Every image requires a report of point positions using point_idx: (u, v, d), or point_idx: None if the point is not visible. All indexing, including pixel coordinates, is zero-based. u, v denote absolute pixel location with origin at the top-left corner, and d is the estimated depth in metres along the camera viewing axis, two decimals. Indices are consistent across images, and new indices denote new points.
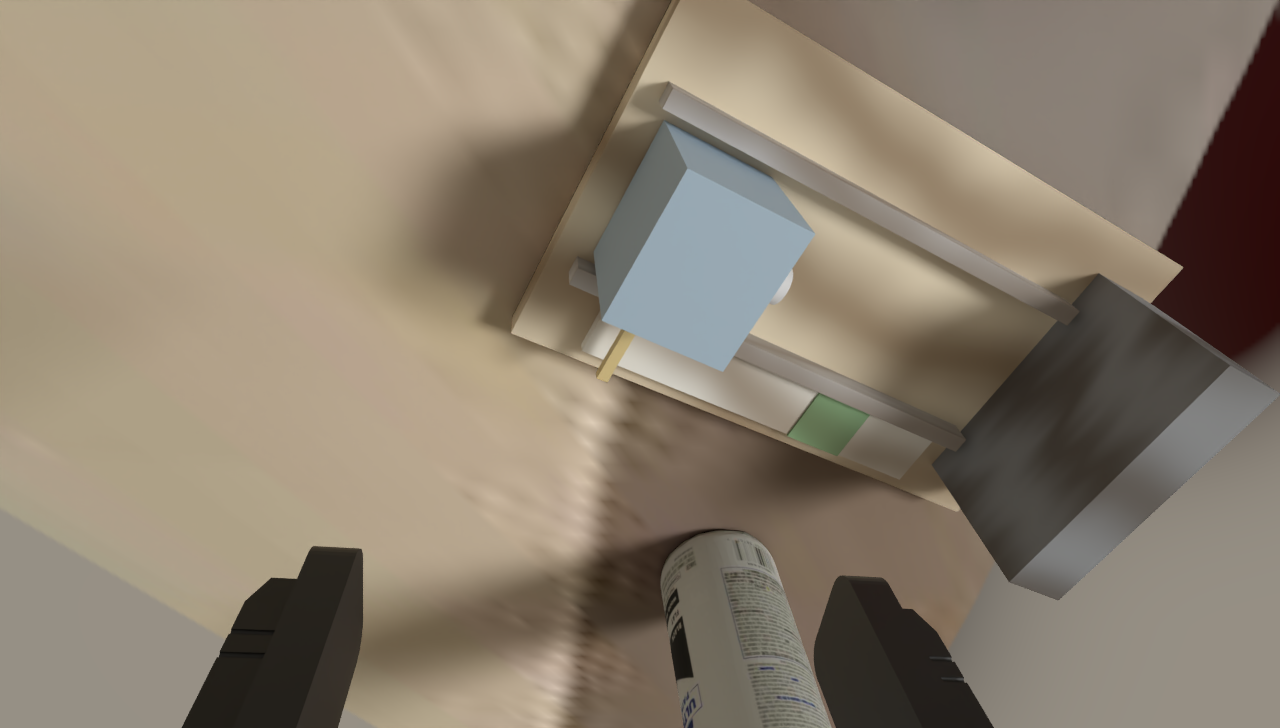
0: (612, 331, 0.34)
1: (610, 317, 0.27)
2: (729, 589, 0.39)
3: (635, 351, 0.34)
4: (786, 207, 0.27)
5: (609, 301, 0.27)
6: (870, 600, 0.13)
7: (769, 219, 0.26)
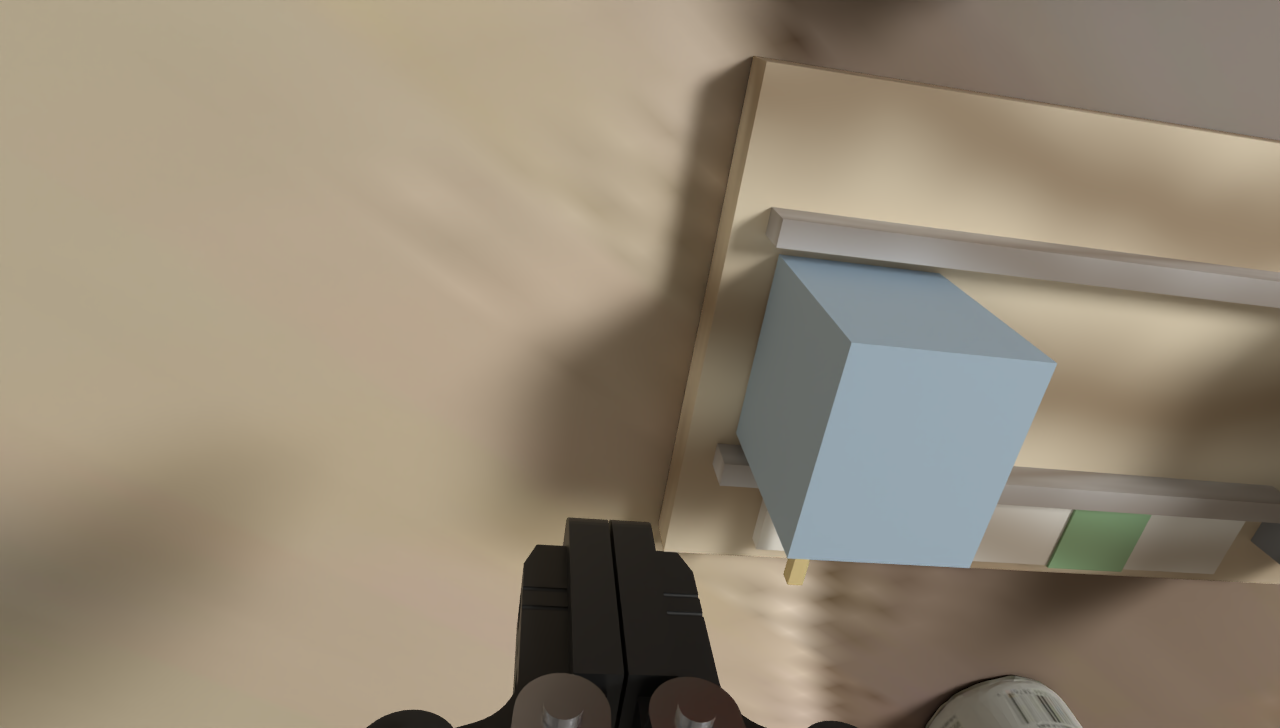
0: None
1: (798, 551, 0.19)
2: None
3: None
4: (992, 328, 0.19)
5: (790, 529, 0.20)
6: (625, 541, 0.13)
7: (986, 366, 0.18)
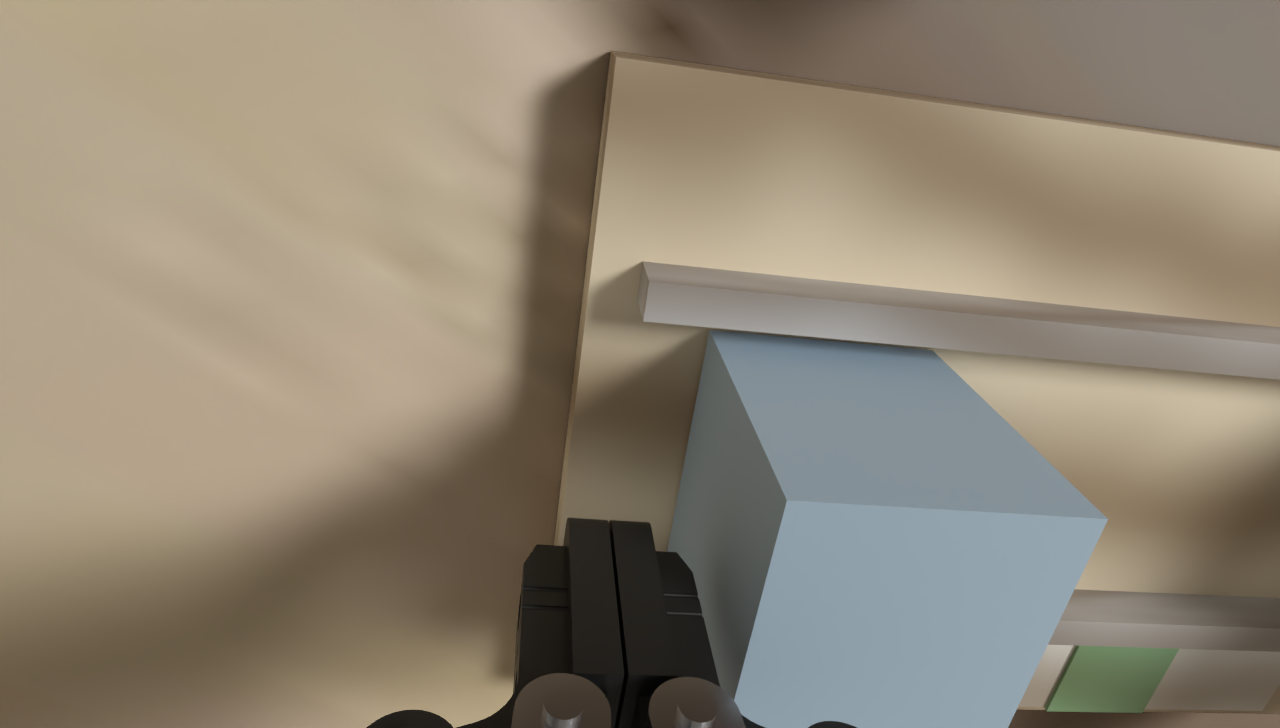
0: None
1: None
2: None
3: None
4: (1006, 451, 0.13)
5: None
6: (625, 541, 0.13)
7: (999, 526, 0.11)
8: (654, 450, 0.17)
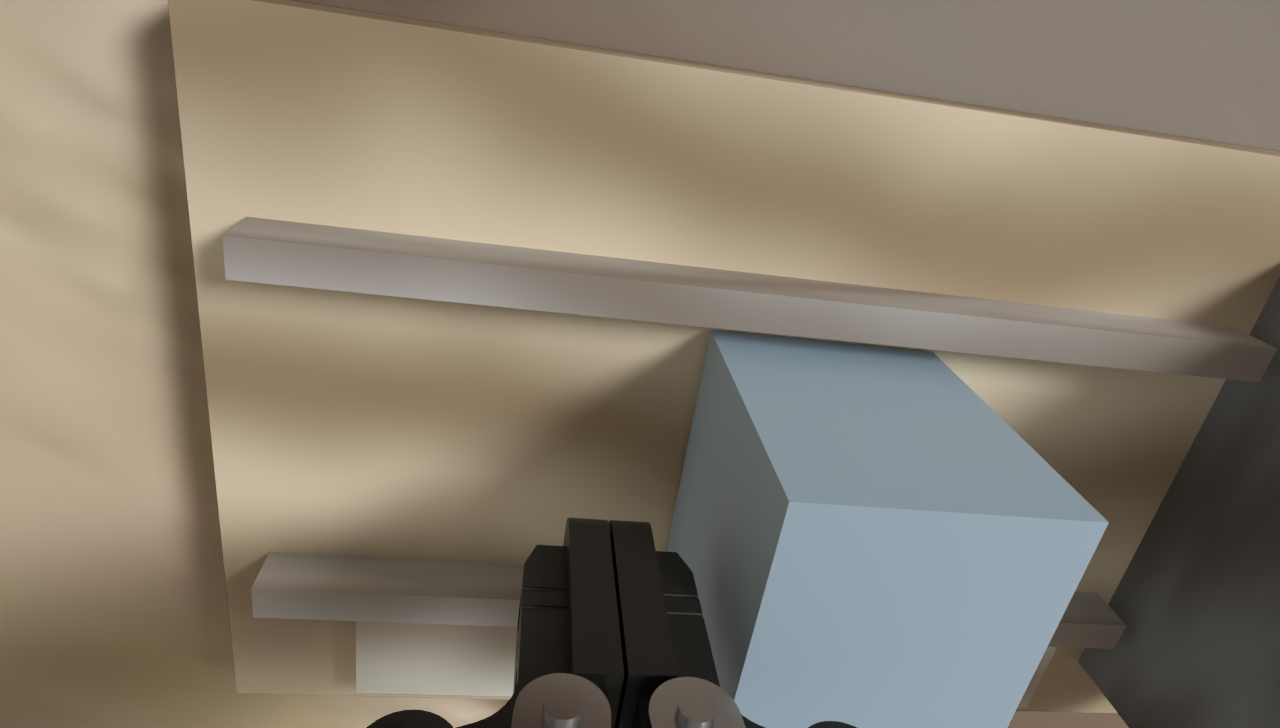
0: (389, 650, 0.18)
1: None
2: None
3: (448, 665, 0.19)
4: (1007, 454, 0.13)
5: None
6: (626, 541, 0.13)
7: (1000, 529, 0.11)
8: (305, 424, 0.16)
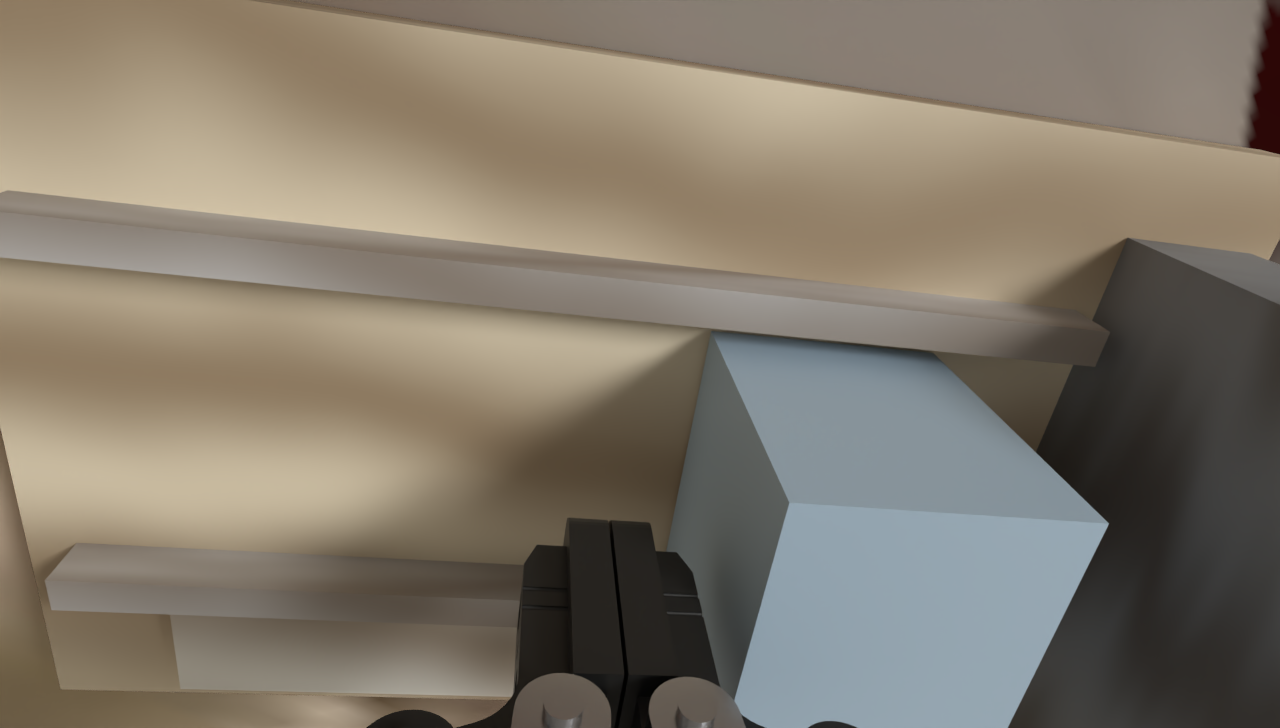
0: (210, 645, 0.18)
1: None
2: None
3: (275, 661, 0.18)
4: (1008, 455, 0.13)
5: None
6: (626, 541, 0.13)
7: (1000, 531, 0.11)
8: (98, 410, 0.16)
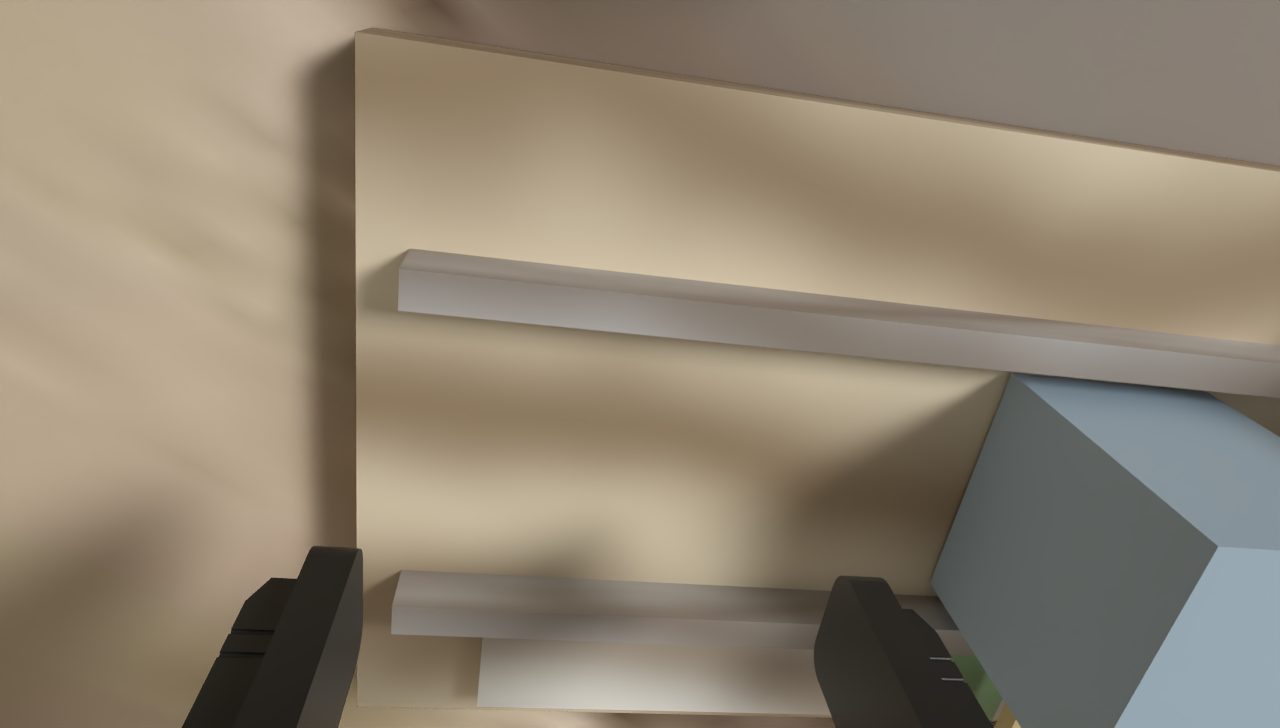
0: (512, 665, 0.19)
1: None
2: None
3: (567, 680, 0.19)
4: None
5: None
6: (870, 600, 0.13)
7: None
8: (446, 447, 0.17)
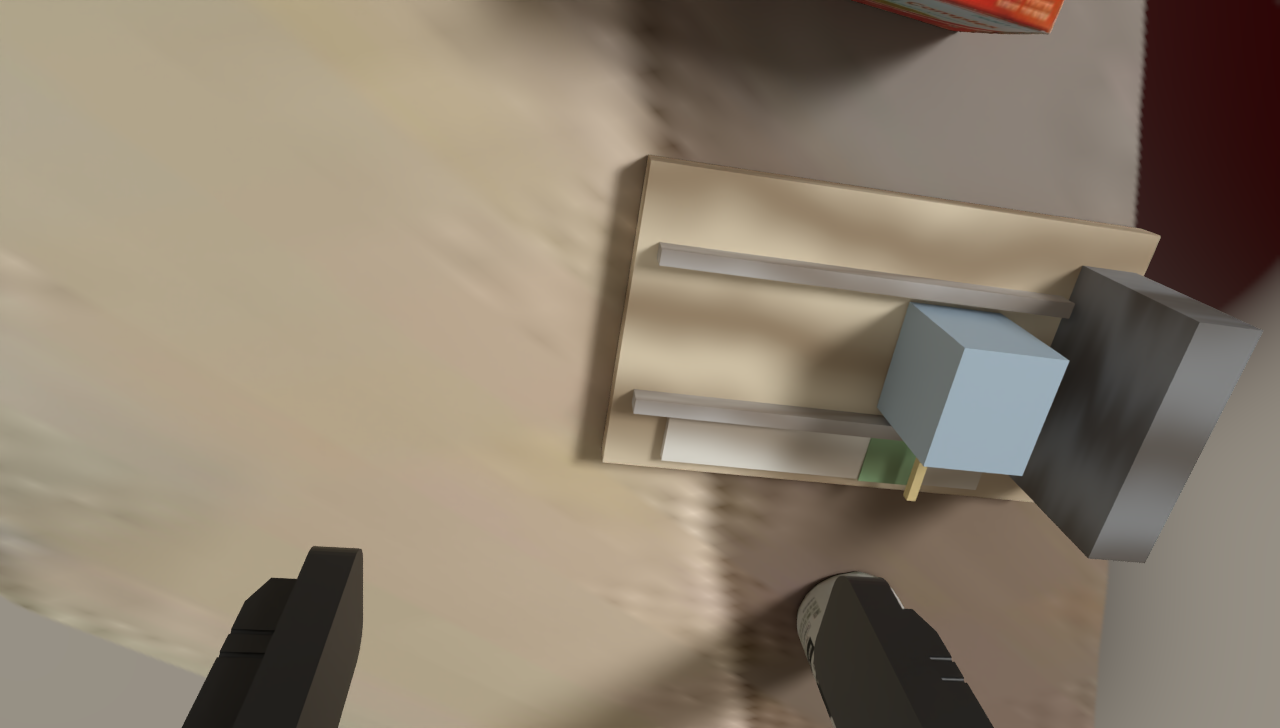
0: (680, 438, 0.41)
1: (929, 462, 0.36)
2: None
3: (704, 448, 0.41)
4: (1034, 343, 0.36)
5: (924, 450, 0.36)
6: (870, 600, 0.13)
7: (1032, 361, 0.34)
8: (662, 329, 0.39)
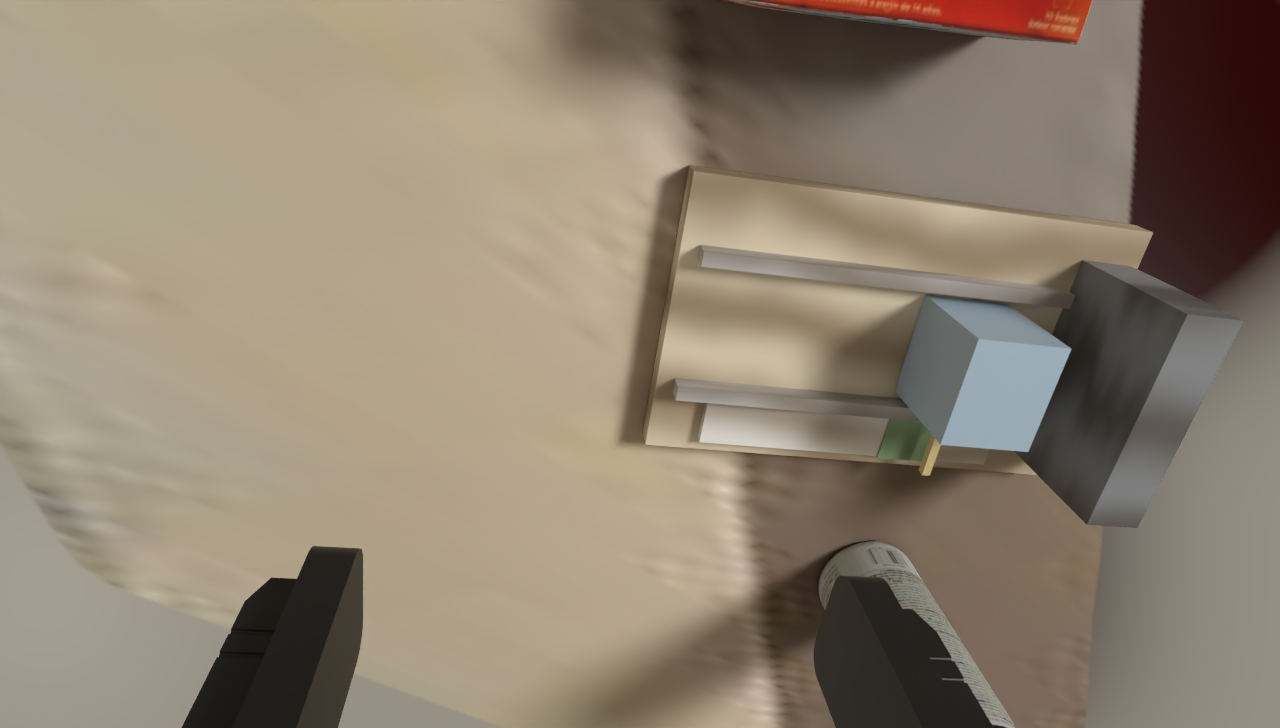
0: (717, 421, 0.45)
1: (945, 441, 0.40)
2: None
3: (738, 430, 0.45)
4: (1039, 333, 0.40)
5: (941, 430, 0.40)
6: (870, 600, 0.12)
7: (1038, 349, 0.38)
8: (701, 323, 0.43)
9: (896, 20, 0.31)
